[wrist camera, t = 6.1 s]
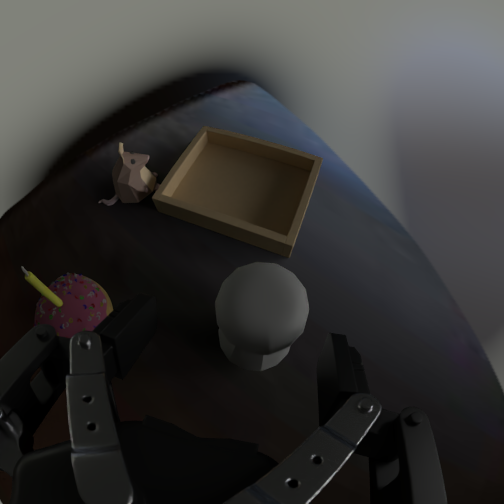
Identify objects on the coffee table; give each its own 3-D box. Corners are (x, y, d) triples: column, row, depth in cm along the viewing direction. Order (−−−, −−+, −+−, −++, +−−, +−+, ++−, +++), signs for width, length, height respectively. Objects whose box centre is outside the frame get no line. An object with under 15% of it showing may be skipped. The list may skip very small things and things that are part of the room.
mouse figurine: (97, 187, 30) (75, 152, 24) (156, 165, 31) (141, 124, 25) (99, 220, 28) (72, 185, 22) (162, 196, 29) (146, 155, 23)
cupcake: (73, 286, 25) (-1, 233, 14) (141, 296, 25) (75, 238, 14) (59, 364, 21) (-27, 344, 10) (129, 385, 21) (46, 384, 10)
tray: (157, 211, 29) (151, 197, 26) (205, 140, 33) (203, 125, 31) (289, 258, 27) (293, 246, 24) (318, 173, 31) (323, 158, 29)
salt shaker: (208, 348, 23) (167, 321, 11) (243, 294, 25) (239, 219, 13) (267, 382, 22) (288, 395, 10) (300, 326, 24) (350, 279, 12)
